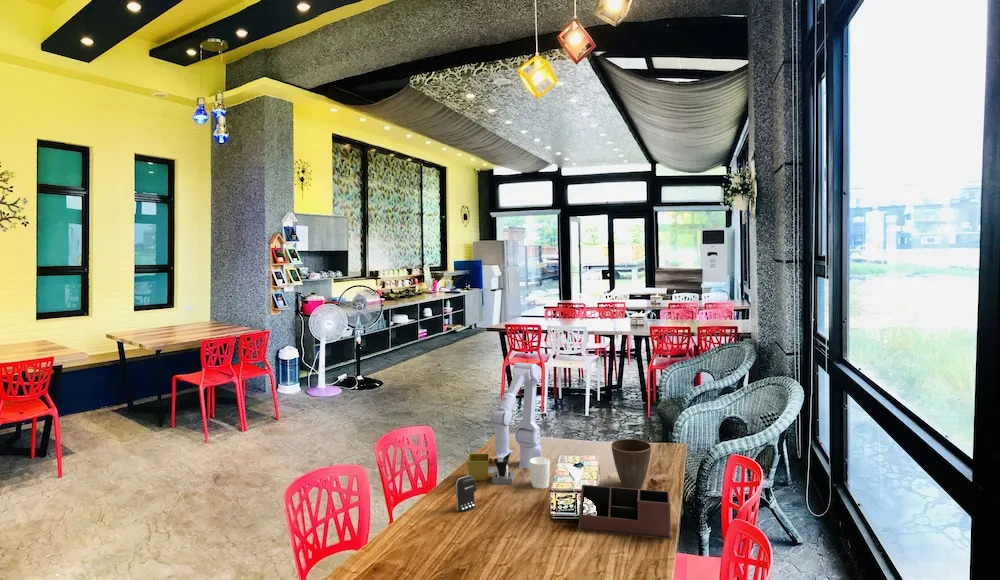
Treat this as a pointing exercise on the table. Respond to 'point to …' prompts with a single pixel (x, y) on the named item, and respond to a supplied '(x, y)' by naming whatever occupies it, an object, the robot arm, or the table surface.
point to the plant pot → (631, 461)
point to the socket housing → (503, 480)
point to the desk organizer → (627, 511)
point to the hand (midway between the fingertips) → (503, 473)
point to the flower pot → (478, 466)
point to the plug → (505, 473)
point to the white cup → (540, 472)
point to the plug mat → (493, 469)
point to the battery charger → (465, 493)
